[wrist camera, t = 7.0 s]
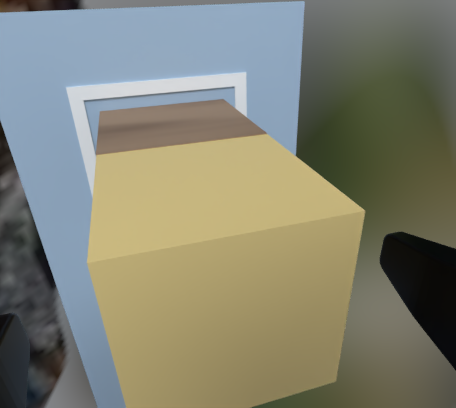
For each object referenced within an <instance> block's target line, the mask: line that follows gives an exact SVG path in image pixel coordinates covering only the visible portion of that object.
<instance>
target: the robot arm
mask: <svg viewBox="0 0 456 408" xmlns="http://www.w3.org/2000/svg"><path fill="white" fill-rule="evenodd" d="M380 264H381V267H382V269H383V271H384V272H385V274H386V275H387V277H388V278H389V280H390V281H391V283H392V284H393V286H394V288H395V289H396V291H397V292H398V294H399V296H400V297H401V299H402V300H403V302H404V303H405V305H406V306H407V308H408V309H409V311H410V312H411V314H412V315H413V317H414V318H415V319H416V320H417V322H418V323H419V324H420V326H421V327H422V328H423V330H424V331H425V332H426V333H427V335H428V336H429V337H430V338H431V340H432V341H433V342H434V343H435V345H436V346H437V347H438V349H439V350H440V351H441V352H442V354H443V355H444V356H445V357H446V359H447V360H448V361H449V363H450V364H451V365H452V366H453V368H454V369H455V370H456V249H455V248H451V247H448V246H445V245H442V244H439V243H436V242H433V241H430V240H426V239H423V238H420V237H417V236H414V235H410V234H408V233H404V232H395V233H390V234H387V235H386V236H385V237H384V240H383V245H382V250H381V255H380ZM29 354H30V345H29V340H28V337H27V335H26V332H25V330H24V328H23V325H22V323H21V321H20V318H19V316H18V315H17V314H15V313H9V314H4V315H0V408H25V406H26V393H27V380H28V367H29Z"/></svg>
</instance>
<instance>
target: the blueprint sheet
mask: <svg viewBox="0 0 456 408" xmlns="http://www.w3.org/2000/svg"><path fill="white" fill-rule="evenodd" d="M304 4H305V1H294V2H270V3H243V4H218V5H191V6H166V7H139V8H115V9H114V8H113V9H87V10H61V11H35V12H9V13H0V120H1V123H2V126H3V129H4V132H5V135H6V138H7V141H8V144H9V147H10V150H11V153H12V156H13V159H14V162H15V165H16V168H17V171H18V173H19V176H20V179H21V182H22V185H23V188H24V191H25V194H26V197H27V200H28V203H29V206H30V209H31V212H32V215H33V218H34V221H35V224H36V227H37V230H38V233H39V235H40V238H41V241H42V244H43V247H44V250H45V253H46V256H47V259H48V262H49V265H50V268H51V271H52V274H53V277H54V280H55V283H56V286H57V289H58V292H59V295H60V297H61V300H62V303H63V306H64V309H65V312H66V315H67V318H68V321H69V324H70V327H71V330H72V333H73V335H74V339H75V342H76V345H77V348H78V351H79V353H80V356H81V359H82V362H83V365H84V368H85V371H86V374H87V377H88V380H89V383H90V386H91V389H92V392H93V395H94V398H95V400H96V404H97V407H98V408H126V405H125V401H124V398H123V394H122V390H121V387H120V383H119V379H118V376H117V372H116V368H115V365H114V361H113V357H112V353H111V350H110V346H109V342H108V339H107V335H106V331H105V328H104V324H103V320H102V317H101V313H100V309H99V306H98V302H97V298H96V295H95V291H94V287H93V284H92V280H91V276H90V273H89V269H88V265H87V256H88V245H89V234H90V222H91V211H92V200H93V188H94V177H95V166H96V146H97V136H98V125H99V114H100V111H108V110H118V109H128V108H138V107H148V106H158V105H168V104H178V103H188V102H198V101H208V100H218V99H224V100H225V101H227V102H228V103H229V104H230V105H232V106H233V107H234V108H236V109H237V110H238V111H239V112H241V113H242V114H243V115H244V116H246V117H247V118H248V119H250V120H251V121H252V122H253V123H255V124H256V125H257V126H259V127H260V128H261V129H262V130H264V131H265V132H266V133H267V134H268V135H269V136H270V137H272V138H273V139H274V140H276V141H277V142H278V143H279V144H281V145H282V146H283V147H284V148H286V149H287V150H288V151H290V152H291V153H292V154H293V155H295V156H296V141H297V124H298V106H299V90H300V72H301V71H300V70H301V56H302V38H303V19H304Z"/></svg>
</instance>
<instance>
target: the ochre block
mask: <svg viewBox="0 0 456 408" xmlns="http://www.w3.org/2000/svg"><path fill="white" fill-rule="evenodd" d="M364 215H365V210H364V209H362V208H361V207H360V206H358V205H357V204H356V203H355V202H353V201H352V200H351V199H349V198H348V197H347V196H346V195H344V194H343V193H342V192H341V191H339V190H338V189H337V188H335V187H334V186H333V185H332V184H330V183H329V182H328V181H326V180H325V179H324V178H323V177H321V176H320V175H319V174H318V173H316V172H315V171H314V170H313V169H311V168H310V167H309V166H307V165H306V164H305V163H303V162H302V161H301V160H300V159H298V158H297V157H296V156H295V155H293V154H292V153H291V152H290V151H288V150H287V149H286V148H284V147H283V146H282V145H281V144H279V143H278V142H277V141H276V140H274V139H273V138H272V137H270V136H269V135H268V134H264V135H256V136H248V137H240V138H232V139H224V140H216V141H207V142H199V143H191V144H183V145H175V146H167V147H159V148H151V149H143V150H134V151H126V152H118V153H110V154H102V155H96V166H95V177H94V188H93V200H92V211H91V222H90V234H89V245H88V256H87V265H88V269H89V273H90V276H91V280H92V284H93V287H94V291H95V295H96V298H97V302H98V306H99V309H100V313H101V317H102V320H103V324H104V328H105V331H106V335H107V339H108V342H109V346H110V350H111V353H112V357H113V361H114V365H115V368H116V372H117V376H118V379H119V383H120V387H121V390H122V394H123V398H124V401H125V405H126V408H251V407H254V406H257V405H260V404H264V403H267V402H271V401H274V400H277V399H280V398H284V397H287V396H290V395H294V394H297V393H300V392H303V391H307V390H310V389H313V388H316V387H320V386H323V385H326V384H330V383H333V382H336V378H337V373H338V366H339V361H340V355H341V349H342V343H343V338H344V332H345V325H346V320H347V314H348V308H349V302H350V297H351V291H352V285H353V279H354V274H355V267H356V262H357V256H358V250H359V244H360V239H361V233H362V227H363V221H364Z"/></svg>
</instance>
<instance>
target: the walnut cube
mask: <svg viewBox="0 0 456 408" xmlns="http://www.w3.org/2000/svg"><path fill="white" fill-rule="evenodd" d="M264 134H267V133H266V132H265V131H264V130H262V129H261V128H260V127H259V126H257V125H256V124H255V123H253V122H252V121H251V120H250V119H248V118H247V117H246V116H244V115H243V114H242V113H241V112H239V111H238V110H237V109H236V108H234V107H233V106H232V105H230V104H229V103H228V102H227V101H225V100H224V99H218V100H208V101H198V102H188V103H178V104H168V105H158V106H148V107H138V108H128V109H118V110H108V111H100V114H99V125H98V136H97V146H96V155H102V154H110V153H118V152H126V151H134V150H143V149H151V148H159V147H167V146H175V145H183V144H191V143H199V142H207V141H216V140H224V139H232V138H240V137H248V136H256V135H264Z"/></svg>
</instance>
